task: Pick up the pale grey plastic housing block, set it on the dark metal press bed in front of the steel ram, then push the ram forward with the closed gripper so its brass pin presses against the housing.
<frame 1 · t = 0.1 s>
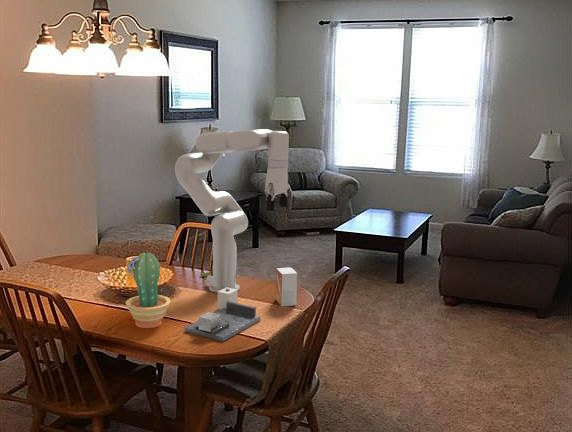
hand: (276, 208, 239), 37 cm above the table, tool pointing down, fingers open, 9 cm apart
ram: (211, 320, 211), point 4 cm above the table, slide at 0.0 cm
potted cactus: (148, 323, 218), on the table
small box: (285, 303, 244), on the table
press bed: (223, 325, 218), on the table
lily flower: (212, 277, 275), on the table
housing: (227, 308, 236), on the table
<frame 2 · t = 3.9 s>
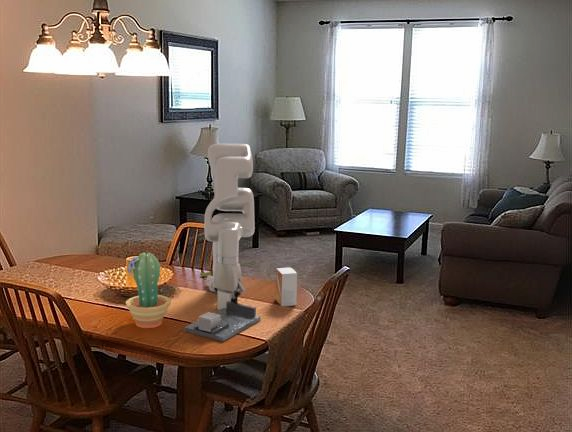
hand: (227, 305, 235), 1 cm above the table, tool pointing down, fingers closed on housing, 5 cm apart
housing: (227, 308, 236), on the table, touching gripper
everything else where it was.
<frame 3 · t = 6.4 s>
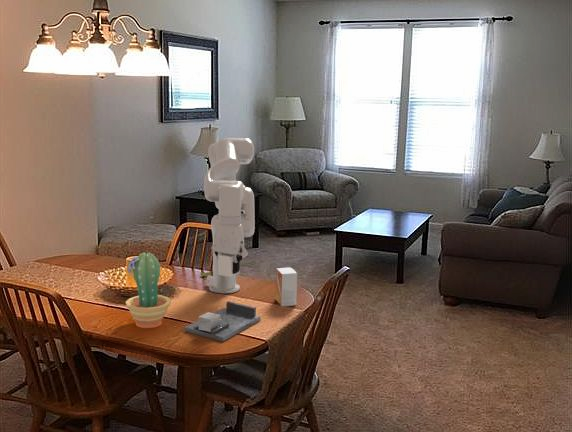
hand: (229, 271, 217), 19 cm above the table, tool pointing down, fingers closed on housing, 5 cm apart
housing: (228, 273, 217), point 18 cm above the table, touching gripper
everything else where it was.
when the fingers open (3 cm above the table, at t = 9.1 s): housing stays where it is, resting on press bed.
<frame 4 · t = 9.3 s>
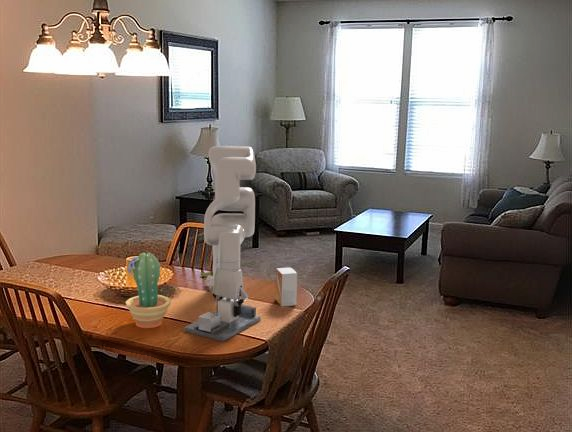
hand: (228, 313, 220), 4 cm above the table, tool pointing down, fingers open, 6 cm apart
housing: (228, 319, 220), point 1 cm above the table, touching press bed
everything else where it was.
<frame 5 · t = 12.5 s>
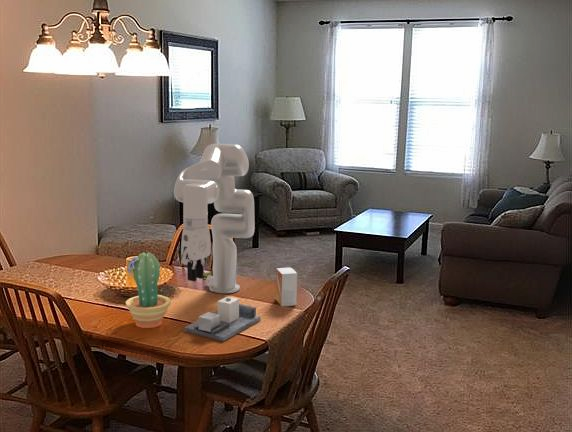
hand: (195, 278, 200), 21 cm above the table, tool pointing down, fingers closed
nothing on the table moved.
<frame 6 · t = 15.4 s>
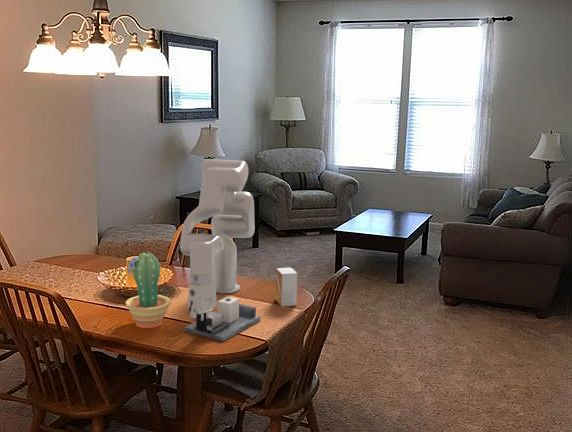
hand: (201, 330, 207), 2 cm above the table, tool pointing down, fingers closed
ram: (213, 320, 212), point 4 cm above the table, slide at 0.9 cm, touching gripper
everything else where it was.
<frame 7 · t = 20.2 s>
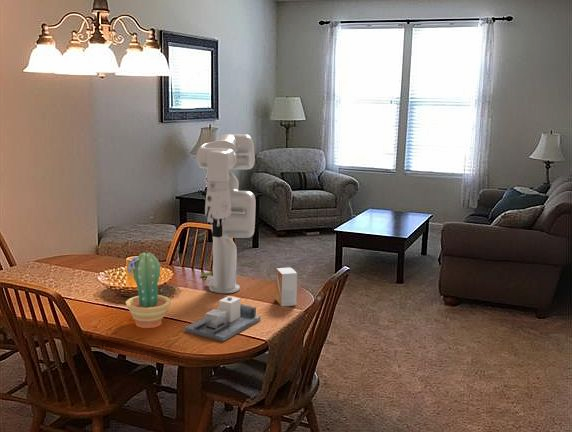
hand: (217, 236, 224), 29 cm above the table, tool pointing down, fingers closed
ram: (218, 317, 215), point 4 cm above the table, slide at 3.8 cm, touching housing
housing: (229, 318, 221), point 1 cm above the table, touching press bed, ram
at the end: housing inside the target area on the press bed (0.7 cm from its centre), point 1.5 cm above the press bed's base; housing tilted 0°; ram slide at 3.8 cm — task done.
